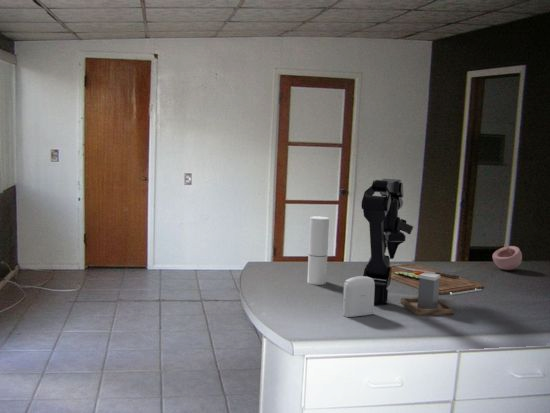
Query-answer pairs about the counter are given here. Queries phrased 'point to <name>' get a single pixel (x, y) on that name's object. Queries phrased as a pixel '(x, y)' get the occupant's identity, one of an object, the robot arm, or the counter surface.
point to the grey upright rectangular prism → (428, 290)
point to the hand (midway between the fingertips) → (387, 255)
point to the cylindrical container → (318, 250)
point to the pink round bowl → (507, 257)
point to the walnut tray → (440, 310)
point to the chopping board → (447, 281)
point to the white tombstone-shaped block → (358, 296)
